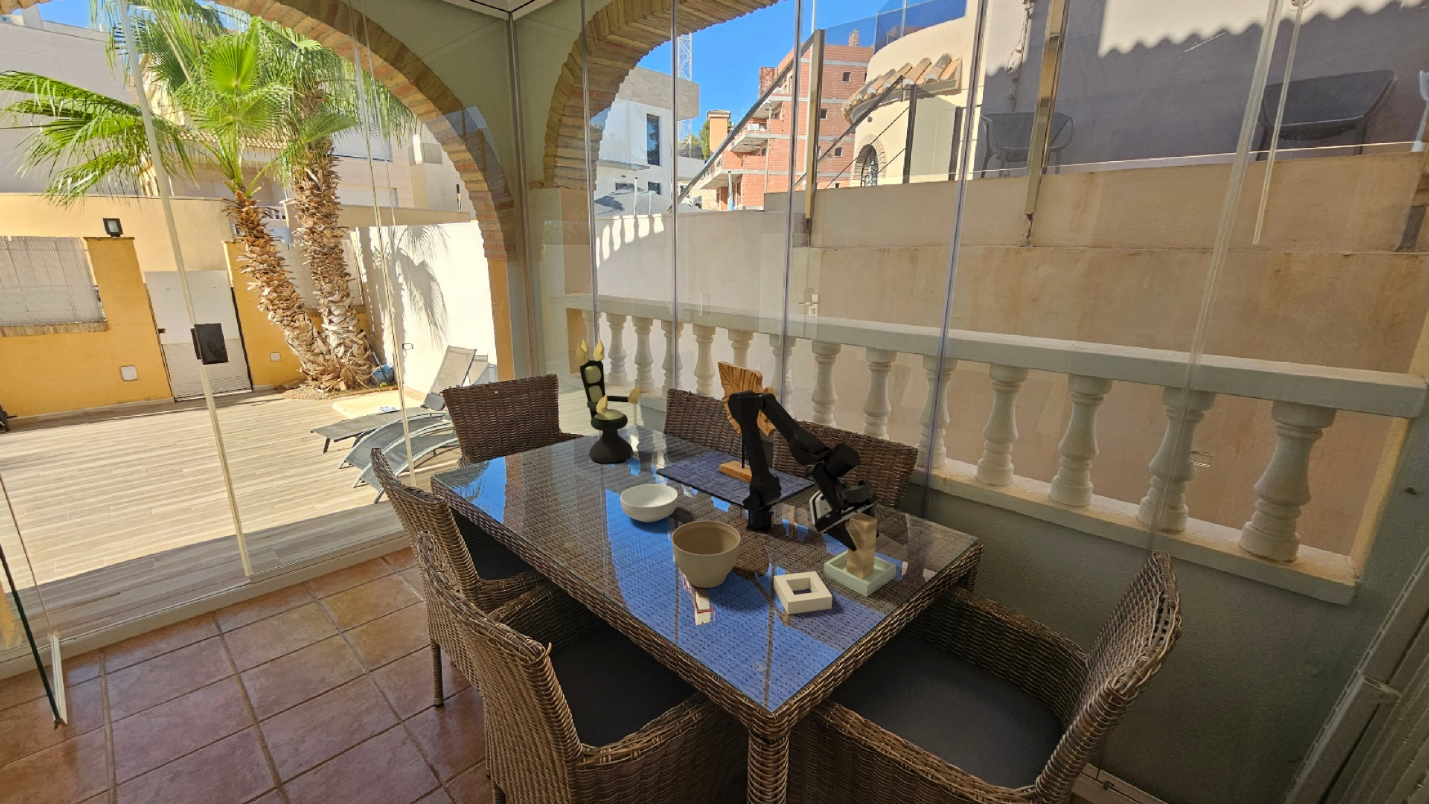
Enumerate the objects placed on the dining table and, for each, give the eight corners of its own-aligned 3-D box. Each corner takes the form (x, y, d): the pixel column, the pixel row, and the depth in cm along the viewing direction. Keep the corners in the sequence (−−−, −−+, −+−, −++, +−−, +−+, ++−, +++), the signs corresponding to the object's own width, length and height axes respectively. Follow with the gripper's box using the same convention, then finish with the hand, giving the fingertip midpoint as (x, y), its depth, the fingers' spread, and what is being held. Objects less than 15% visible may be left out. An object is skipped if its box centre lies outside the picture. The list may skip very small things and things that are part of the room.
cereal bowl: (690, 515, 161) (689, 493, 159) (647, 536, 149) (646, 512, 148) (652, 499, 172) (651, 478, 170) (609, 517, 161) (608, 495, 159)
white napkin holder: (825, 530, 152) (817, 495, 152) (813, 529, 156) (805, 495, 156) (860, 512, 162) (853, 479, 162) (848, 511, 166) (840, 480, 166)
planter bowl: (686, 605, 120) (685, 561, 117) (663, 568, 134) (662, 528, 131) (751, 587, 126) (752, 545, 123) (723, 554, 140) (723, 515, 137)
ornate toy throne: (610, 469, 197) (603, 346, 185) (568, 457, 209) (558, 341, 197) (644, 453, 212) (639, 339, 200) (603, 443, 224) (596, 334, 212)
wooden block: (846, 571, 130) (849, 518, 126) (857, 564, 133) (860, 512, 129) (862, 579, 127) (866, 525, 123) (873, 572, 130) (877, 519, 126)
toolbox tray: (823, 574, 131) (824, 563, 130) (852, 556, 138) (853, 546, 137) (866, 597, 122) (867, 585, 121) (895, 576, 129) (896, 565, 129)
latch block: (773, 587, 126) (774, 576, 125) (814, 582, 127) (815, 571, 127) (787, 614, 116) (788, 602, 115) (831, 608, 118) (832, 596, 117)
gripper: (827, 481, 120) (866, 545, 115) (874, 460, 132) (912, 517, 127) (798, 502, 128) (834, 563, 123) (845, 481, 140) (880, 535, 135)
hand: (867, 543), depth 127 cm, fingers open, 9 cm apart
